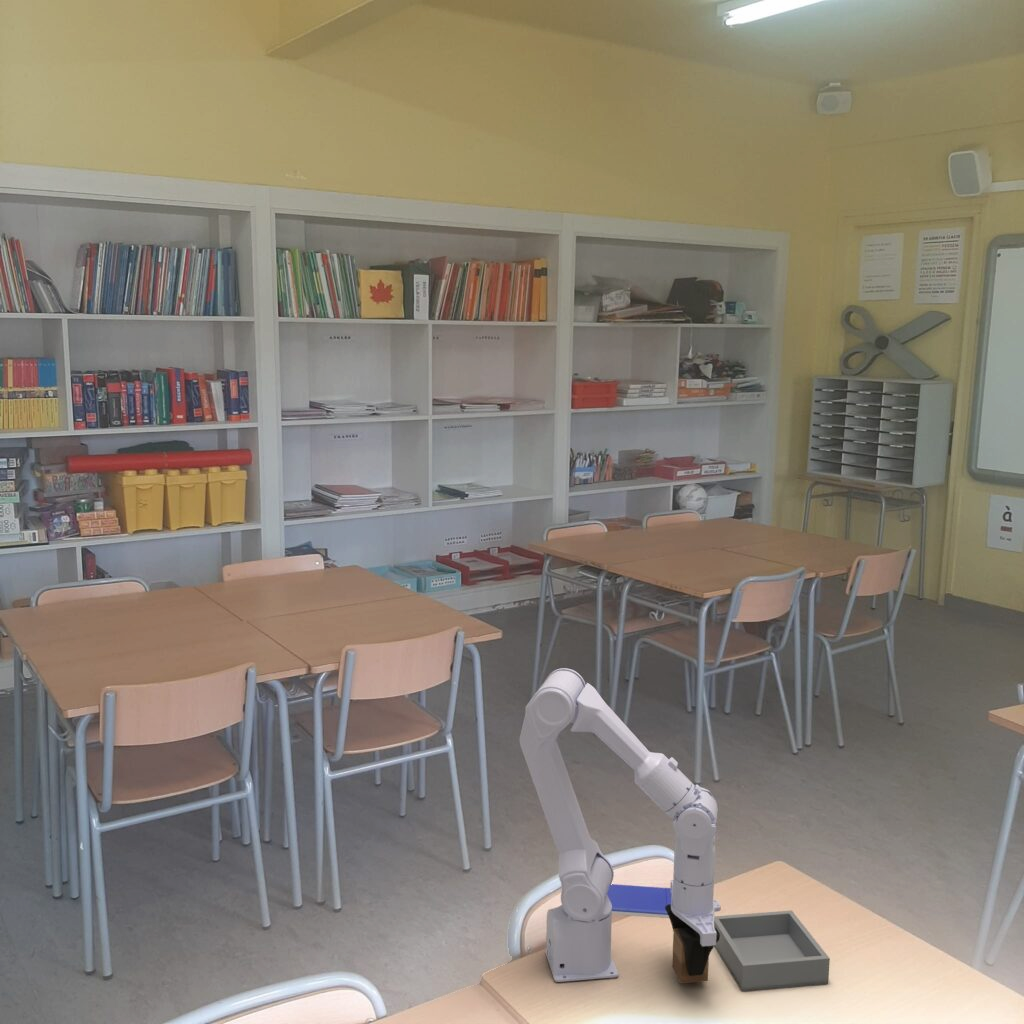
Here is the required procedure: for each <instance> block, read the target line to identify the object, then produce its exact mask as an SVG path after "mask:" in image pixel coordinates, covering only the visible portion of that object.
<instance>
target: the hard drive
mask: <svg viewBox="0 0 1024 1024" xmlns="http://www.w3.org/2000/svg"><path fill="white" fill-rule="evenodd" d="M611 884H612V885H610V886H609V889H608V892H607V895H608V898H609V900H610V902H611V904H612V915H618V916H630V917H631V916H632V917H647V918H648V917H649V918H659V919H660V918H663V919H670V918H669V916H668V913H667V911H666V909H665V907H666V906H667V905H669V904H671V897H672V894H671V892H670V887H657V886H643V885H632V884H629V885H628V884H619V883H618V884H616V883H611Z"/></svg>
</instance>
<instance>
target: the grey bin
mask: <svg viewBox="0 0 1024 1024" xmlns="http://www.w3.org/2000/svg"><path fill="white" fill-rule="evenodd" d="M714 928H717V930H718V932H719V933H720V938H719V941H718V942H717V943H716V945H714V947H713V948H715V950H716V952H717V953H718V955H719V957H720V959H721V960H722V961H723V963H724V964H725V966H726V967H727V969H728V971H729V973H730V975H731V976H732V978H733V980H734V981H735V983H736V984H737V986H738V987H739V989H740V990H741V992H745V993H746V992H755V991H765V990H776V989H790V988H798V987H801V988H802V987H811V986H820V985H821V986H822V985H823V986H824V985H829V980H830V979H829V977H830V962H831V961H830V960H831V959H830V957H829V955H828V954H827V953H826V952H825V951H824V949H823V948H822V946H821V945H820V944H819V943H818V942H817V940H816V938H814V937H813V935H812V934H811V933H810V931H809V930H808V928H807V927H806V926H805V925H804V924H803V922H802V921H801V920H800V919H799V917H798V916H797V915H796V913H795V912H794V911H793V910H781V911H780V910H779V911H767V912H756V913H752V912H751V913H742V914H727V915H716V916H715V915H714Z"/></svg>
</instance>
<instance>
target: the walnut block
mask: <svg viewBox="0 0 1024 1024" xmlns="http://www.w3.org/2000/svg"><path fill="white" fill-rule="evenodd" d="M672 932H673V931H672ZM672 937H673V938H672V940H673V941H672V960H671V961H672V963H671V964H672V965H671V967H672V969H673V971H674V973H675V975H676V976H677V979H678V981H679V983H680V984H687V983H689V984H690V983H700V982H708V981H709V959H710V957H708V960H707V963H706V967H705V970H704V972H703V975H695V976H689V974H688V972H687V968H686V960H685V951H684V946H683V942H682V939H681V937H680V934H679V932H678V928H675V929H674V932H673V933H672Z"/></svg>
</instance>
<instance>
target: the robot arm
mask: <svg viewBox="0 0 1024 1024" xmlns="http://www.w3.org/2000/svg"><path fill="white" fill-rule="evenodd" d="M570 723H572V724H573V725H572V727H571V729H570V732H572V733H573V732H574V733H593V734H594V735H595V736H596V737H597V738H599V739H600V740H601V741H602V742H603V743H604V744H605V745H606V746H607V747H608V748H609V749H610V750H612V751H613V752H614V753H615V754H616V755H617V756H618V757H619V758H620V759H621V760H623V761H624V762H625V763H626V764H627V766H629V767H630V768H631V769H633V773H634V783H635V784H636V785H637V787H639V788H640V790H642V791H643V793H645V795H647V796H648V798H649V799H651V801H652V802H653V803H655V805H656V806H658V808H659V809H660V810H661V811H662V812H663V813H664V814H665V815H667V816H668V817H669V818H671V819H672V820H673V821H672V828H673V831H674V833H675V835H676V841H675V843H674V848H673V849H674V850H673V851H674V852H673V855H674V856H673V876H672V877H673V879H671V880H670V886H669V888H670V892H671V894H672V897H671V904H669V905H667V906H666V907H665V909H666V911H667V913H668V916H669V918H668V919H669V920H670V923H671V927H672V932H674V929H675V928H678V932H679V934H680V937H681V939H682V942H683V946H684V951H685V960H686V968H687V972H688V974H689V976H695V975H703V972H704V970H705V967H706V963H707V960H708V957H709V956H710V955H711V952H712V950H713V948H715V947H714V945H716V943H717V942H718V941H719V938H720V933H719V932H718V930H717V928H714V916H715V913H716V912H720V911H721V910H722V909H721V908H722V906H721V904H720V902H719V901H718V900H717V899H714V888H715V886H714V885H715V869H716V868H715V867H716V865H715V864H716V846H715V843H716V834H717V820H718V819H717V818H718V811H719V810H718V809H719V808H718V804H717V800H716V799H715V797H714V796H713V795H712V793H711V791H710V790H709V789H707V788H704V787H701V786H700V785H699V784H694V783H693V782H692V781H691V780H690V779H689V778H688V777H687V776H686V774H684V773H683V772H682V771H681V770H680V769H679V768H678V764H679V762H678V761H677V760H676V759H675V758H674V757H673V756H672V757H670V758H668V757H667V756H666V755H665V754H664V753H661V752H651V751H649V750H648V748H646V746H645V745H644V744H643V743H642V742H641V741H640V740H639V738H638V737H637V736H636V735H635V734H634V733H633V732H632V731H631V730H630V728H629V727H628V726H627V725H626V724H625V723H624V722H623V721H622V720H621V719H620V717H619V716H618V715H617V714H616V713H615V712H614V711H613V709H612V708H611V707H610V706H609V705H608V704H607V703H606V702H605V700H604V699H603V698H602V696H601V695H600V693H599V692H598V691H597V689H596V688H595V687H594V686H592V684H590V683H588V682H586V681H585V680H584V678H583V676H582V675H581V674H580V673H578V672H577V671H576V670H574V669H572V668H571V669H570V668H566V667H565V668H564V667H563V668H562V667H561V668H558V669H555V670H552V672H551V673H549V674H548V676H547V677H546V678H545V679H544V681H543V682H542V684H541V685H540V687H539V689H538V690H537V691H536V692H534V695H533V696H532V697H531V698H530V700H529V702H527V705H526V706H525V714H524V718H523V723H522V727H521V731H520V735H519V746H520V748H521V751H522V754H523V756H524V759H525V762H526V765H527V768H528V771H529V774H530V777H531V780H532V782H533V785H534V788H535V791H536V793H537V796H538V799H539V802H540V806H541V808H542V811H543V813H544V818H545V820H546V823H547V825H548V828H549V832H550V834H551V837H552V840H553V842H554V845H555V848H556V851H557V853H558V878H559V881H560V883H561V892H560V902H561V905H559V906H557V907H553V908H549V909H547V912H546V913H547V914H546V935H545V936H546V942H545V943H546V945H545V946H546V949H545V955H546V959H547V962H548V965H549V967H550V971H551V974H552V976H553V981H554V982H557V983H564V982H572V981H573V982H575V981H585V980H586V981H587V980H588V981H589V980H595V979H597V980H598V979H608V978H609V979H611V978H617V977H619V971H618V968H617V966H616V964H615V962H614V960H613V957H612V919H613V918H612V915H613V914H612V904H611V902H610V900H609V898H608V895H607V892H608V889H609V886H610V885H611V884H613V883H612V882H613V880H614V876H615V874H614V868H613V865H612V863H611V862H610V860H609V859H608V858H607V857H606V856H605V855H604V854H603V853H602V851H601V849H600V847H599V843H598V842H597V841H595V840H594V839H593V838H591V835H590V833H589V832H590V831H589V830H588V827H587V824H586V820H585V818H584V816H583V813H582V810H581V806H580V804H579V801H578V798H577V795H576V793H575V790H574V787H573V784H572V781H571V778H570V776H569V772H568V769H567V767H566V764H565V760H564V759H563V756H562V752H561V750H560V747H559V744H558V741H557V739H558V736H559V734H560V733H561V732H562V731H563V730H564V729H565V728H566V727H567V726H569V725H570ZM709 958H710V957H709Z"/></svg>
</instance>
